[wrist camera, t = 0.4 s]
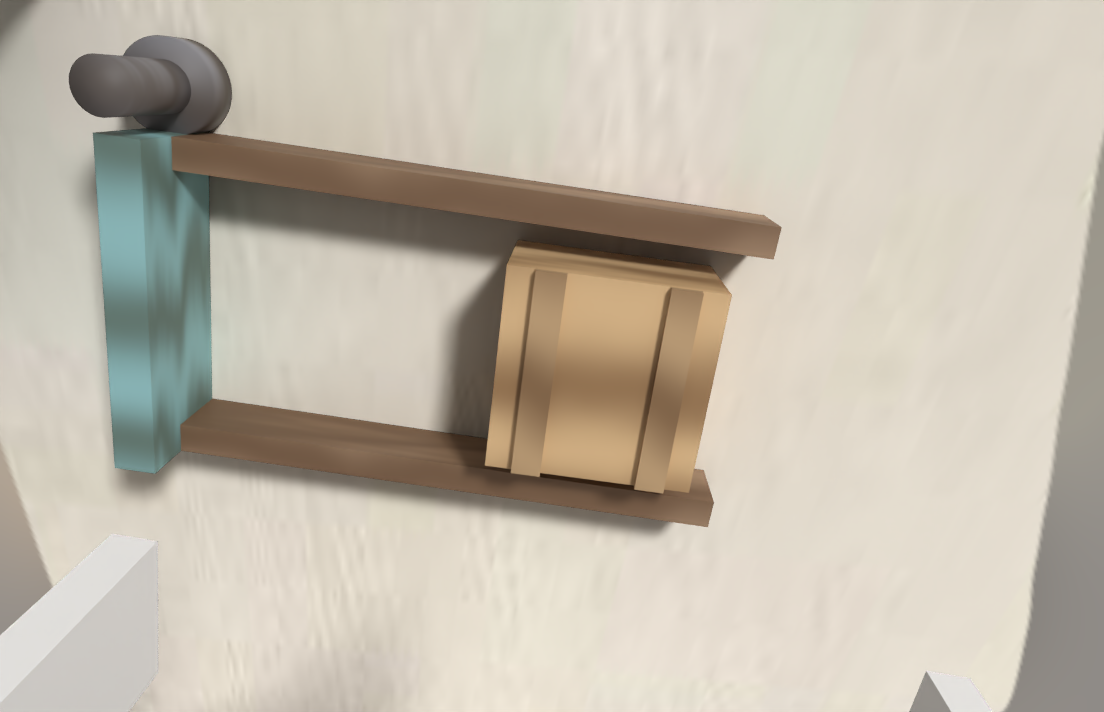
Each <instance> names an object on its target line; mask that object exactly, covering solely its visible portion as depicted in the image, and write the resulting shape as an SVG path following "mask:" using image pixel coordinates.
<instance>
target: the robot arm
mask: <svg viewBox="0 0 1104 712" xmlns="http://www.w3.org/2000/svg"><path fill="white" fill-rule="evenodd" d="M157 673H158V541H153V540H148V539H142V538H136V537H130V536H124V535H118V534H111V535H110V536H109V537H108V538H107V539H105V540H104V541H103V542H102V543H101V544H100V545H99V546H98V547H97V548H96V549H94V550H93V551H92V552H91V553H90V554H89V555H88V556H87V557H86V558H85V559H84V560H82V561H81V562H80V563H79V564H78V565H77V566H76V567H75V568H74V569H73V570H71V571H70V572H69V573H68V574H67V575H66V576H65V577H64V578H63V579H62V580H60V581H59V582H58V583H57V584H56V585H55V586H54V587H53V588H52V589H51V590H50V591H48V592H47V593H46V594H45V595H44V596H43V597H42V598H41V599H40V600H39V601H37V602H36V603H35V604H34V605H33V606H32V607H31V608H30V609H29V610H28V611H27V612H25V614H23V615H22V616H21V617H20V618H19V619H18V620H17V621H16V622H14V623H13V624H12V625H11V626H10V627H9V628H8V629H7V630H6V631H5V632H4V633H2V634H1V635H0V712H129V711H130V710H131V708H132V707H133V706H134V704H135V703H136V702H137V700H138V699H139V698H140V696H141V695H142V694H143V692H144V691H145V690H146V688H147V687H148V686H149V684H150V683H151V682H152V680H153V679H154V677H155V676H156V675H157ZM909 712H993V711H992V709H991V708H990V706H989V705H988V704H987V702H986V701H985V699H984V698H983V696H982V695H981V693H980V692H979V690H978V689H977V687H976V686H975V684H974V683H973V681H972V680H971V678H966V677H960V676H954V675H949V674H943V673H937V672H931V671H926V673H925V675H924V678H923V680H922V683H921V685H920V687H919V690H918V692H917V695H916V697H915V699H914V702H913V704H912V707H911V709H910V711H909Z"/></svg>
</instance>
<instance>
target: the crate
mask: <svg viewBox="0 0 1104 712" xmlns="http://www.w3.org/2000/svg"><path fill="white" fill-rule="evenodd" d="M731 297H732V295H731V293H730V292H729V291H728V289H727V288H726V286H725V285H724V284H723V282H722V281H721V280H720V278H719V277H718V276H717V274H716V273H715V271H714V270H713V269H712V267H711V266H706V265H698V264H691V263H684V262H676V261H669V260H661V259H654V258H647V257H639V256H632V255H624V254H617V253H610V252H602V251H595V250H588V249H580V248H573V247H565V246H558V245H551V244H543V243H536V242H529V241H521V240H518V241H517V243H516V245H515V248H514V250H513V252H512V254H511V257H510V259H509V261H508V263H507V268H506V277H505V286H504V295H503V305H502V314H501V323H500V332H499V341H498V350H497V359H496V368H495V377H494V387H493V396H492V405H491V414H490V423H489V432H488V441H487V450H486V460H485V466H492V467H500V468H507V469H511V473H514V474H521V475H529V476H536V477H540V473H544V474H552V475H559V476H567V477H574V478H582V479H589V480H597V481H604V482H612V483H619V484H627V485H634V490H641V491H649V492H656V493H663V492H664V490H672V491H679V492H686V493H689V490H690V485H691V481H692V476H693V472H694V467H695V462H696V458H697V453H698V449H699V444H700V439H701V435H702V430H703V426H704V421H705V416H706V412H707V407H708V403H709V398H710V393H711V389H712V384H713V380H714V375H715V370H716V366H717V361H718V357H719V352H720V347H721V343H722V338H723V333H724V329H725V324H726V320H727V315H728V310H729V306H730V301H731Z"/></svg>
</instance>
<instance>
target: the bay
mask: <svg viewBox="0 0 1104 712" xmlns="http://www.w3.org/2000/svg"><path fill="white" fill-rule="evenodd" d="M69 85H70V89H71V92H72V95H73V97H74V98H75V100H76V102H77V103H78V104H79V105H80V106H81V107H82V108H83V109H84V110H85V111H87V112H88V113H90V114H92V115H94V116H97V117H103V118H107V117H126V116H133V117H134V118H135V119H136V120H137V121H138V122H139V123H140V124H142V125H143V126H144V127H146V128H145V129H133V130H121V131H109V132H96V133H93V141H94V156H95V171H96V187H97V202H98V217H99V233H100V248H101V263H102V279H103V294H104V309H105V325H106V340H107V355H108V371H109V386H110V401H111V417H112V432H113V447H114V462H115V468H120V469H127V470H134V471H141V472H148V473H156V472H158V471H159V470H160V469H161V468H162V467H163V466H164V465H165V464H167V463H168V462H169V461H170V460H171V459H172V458H173V457H174V456H176V455H177V454H178V453H179V452H180V451H187V452H194V453H201V454H208V455H215V456H222V457H228V458H235V459H242V460H249V461H256V462H263V463H270V464H277V465H284V466H290V467H297V468H304V469H311V470H318V471H325V472H332V473H339V474H346V475H352V476H359V477H366V478H373V479H380V480H387V481H394V482H401V483H408V484H414V485H421V486H428V487H435V488H442V489H449V490H456V491H463V492H470V493H476V494H483V495H490V496H497V497H504V498H511V499H518V500H525V501H532V502H538V503H545V504H552V505H559V506H566V507H573V508H580V509H587V510H594V511H600V512H607V513H614V514H621V515H628V516H635V517H642V518H649V519H656V520H662V521H669V522H676V523H683V524H690V525H697V526H704V527H708V524H709V520H710V516H711V512H712V508H713V504H714V502H713V498H712V495H711V492H710V489H709V486H708V483H707V480H706V476H705V473H704V470H697V469H694V472H693V476H692V481H691V485H690V490H689V493H686V492H679V491H672V490H664V492H663V493H656V492H649V491H641V490H634V485H627V484H619V483H612V482H604V481H597V480H589V479H582V478H574V477H567V476H559V475H552V474H544V473H540V477H536V476H529V475H521V474H514V473H511V469H507V468H500V467H492V466H485V460H486V450H487V441H488V439H485V438H478V437H471V436H464V435H457V434H451V433H444V432H437V431H430V430H423V429H416V428H409V427H403V426H396V425H389V424H382V423H375V422H368V421H361V420H355V419H348V418H341V417H334V416H327V415H320V414H313V413H307V412H300V411H293V410H286V409H279V408H272V407H265V406H259V405H252V404H245V403H238V402H231V401H224V400H217V399H212V362H211V295H210V228H209V176H215V177H222V178H229V179H235V180H242V181H249V182H255V183H262V184H269V185H276V186H282V187H289V188H296V189H303V190H309V191H316V192H323V193H330V194H336V195H343V196H350V197H356V198H363V199H370V200H377V201H383V202H390V203H397V204H404V205H410V206H417V207H424V208H431V209H437V210H444V211H451V212H457V213H464V214H471V215H478V216H484V217H491V218H498V219H505V220H511V221H518V222H525V223H531V224H538V225H545V226H552V227H558V228H565V229H572V230H579V231H585V232H592V233H599V234H606V235H612V236H619V237H626V238H632V239H639V240H646V241H653V242H659V243H666V244H673V245H680V246H686V247H693V248H700V249H707V250H713V251H720V252H727V253H733V254H740V255H747V256H754V257H760V258H767V259H774V256H775V252H776V248H777V244H778V240H779V235H780V231H781V227H780V226H779V225H777V224H776V223H774V222H773V221H771V220H770V219H768V218H767V217H766V216H764V215H758V214H751V213H744V212H738V211H731V210H724V209H717V208H711V207H704V206H697V205H691V204H684V203H677V202H670V201H664V200H657V199H650V198H644V197H637V196H630V195H623V194H617V193H610V192H603V191H597V190H590V189H583V188H576V187H570V186H563V185H556V184H550V183H543V182H536V181H530V180H523V179H516V178H509V177H503V176H496V175H489V174H483V173H476V172H469V171H462V170H456V169H449V168H442V167H436V166H429V165H422V164H415V163H409V162H402V161H395V160H389V159H382V158H375V157H368V156H362V155H355V154H348V153H342V152H335V151H328V150H322V149H315V148H308V147H301V146H295V145H288V144H281V143H275V142H268V141H261V140H254V139H248V138H241V137H234V136H228V135H221V134H214V133H207V132H208V131H211V130H213V129H214V128H216V127H217V126H218V125H220V123H221V122H222V121H223V120H224V119H225V117H226V116H227V114H228V112H229V109H230V105H231V100H232V88H231V83H230V79H229V76H228V73H227V71H226V69H225V67H224V65H223V64H222V62H221V61H220V59H219V58H218V57H217V56H216V55H215V54H214V53H213V52H212V51H211V50H210V49H208V48H207V47H205V46H204V45H202V44H200V43H198V42H196V41H193V40H189V39H184V38H177V37H169V36H160V35H154V36H147V37H144V38H141V39H139V40H137V41H136V42H134V43H133V44H132V45H131V46H130V47H129V48H128V49H127V50H126V52H125V53H124V55H123V56H116V55H104V54H86V55H83V56H81V57H80V58H78V59H77V60H76V61H75V62H74V64H73V65H72V67H71V70H70V73H69Z"/></svg>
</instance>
